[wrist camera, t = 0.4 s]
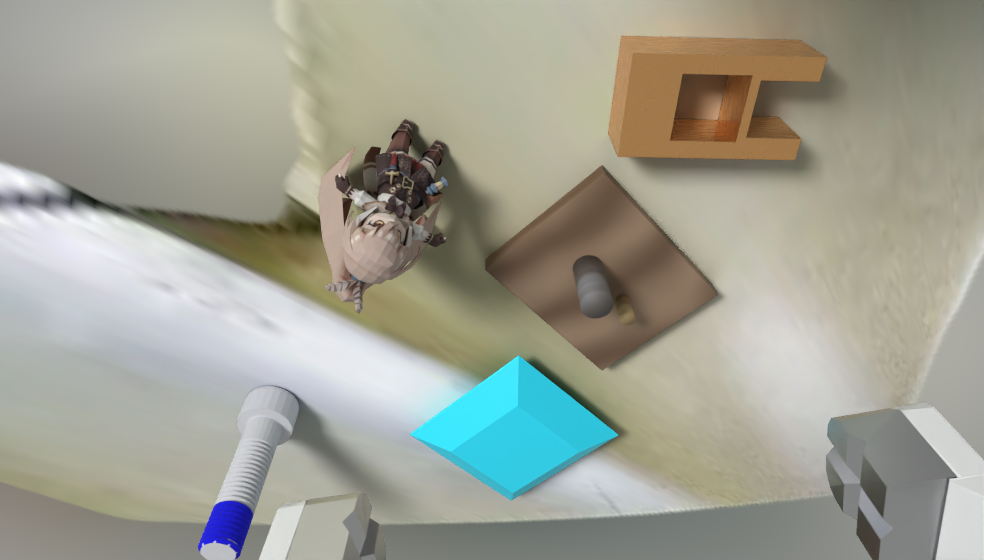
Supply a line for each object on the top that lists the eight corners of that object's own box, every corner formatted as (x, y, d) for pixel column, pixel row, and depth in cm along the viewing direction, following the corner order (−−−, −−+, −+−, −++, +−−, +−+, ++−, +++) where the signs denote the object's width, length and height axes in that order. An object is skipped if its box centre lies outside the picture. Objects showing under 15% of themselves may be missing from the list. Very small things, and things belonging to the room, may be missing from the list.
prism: (412, 414, 64) (406, 450, 60) (518, 337, 58) (519, 372, 54) (511, 484, 69) (511, 521, 65) (616, 420, 64) (623, 456, 60)
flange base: (485, 259, 53) (485, 307, 47) (602, 165, 48) (616, 207, 43) (599, 359, 59) (611, 411, 54) (712, 284, 54) (737, 333, 49)
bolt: (295, 383, 60) (304, 421, 63) (241, 383, 60) (252, 421, 63) (244, 533, 47) (258, 571, 50) (175, 533, 47) (193, 572, 50)
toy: (488, 155, 47) (443, 317, 37) (429, 218, 52) (377, 372, 43) (380, 81, 44) (300, 237, 34) (330, 157, 49) (249, 308, 40)
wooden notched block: (608, 133, 47) (617, 156, 43) (621, 36, 43) (632, 52, 39) (772, 137, 47) (794, 160, 44) (800, 40, 43) (827, 57, 40)
